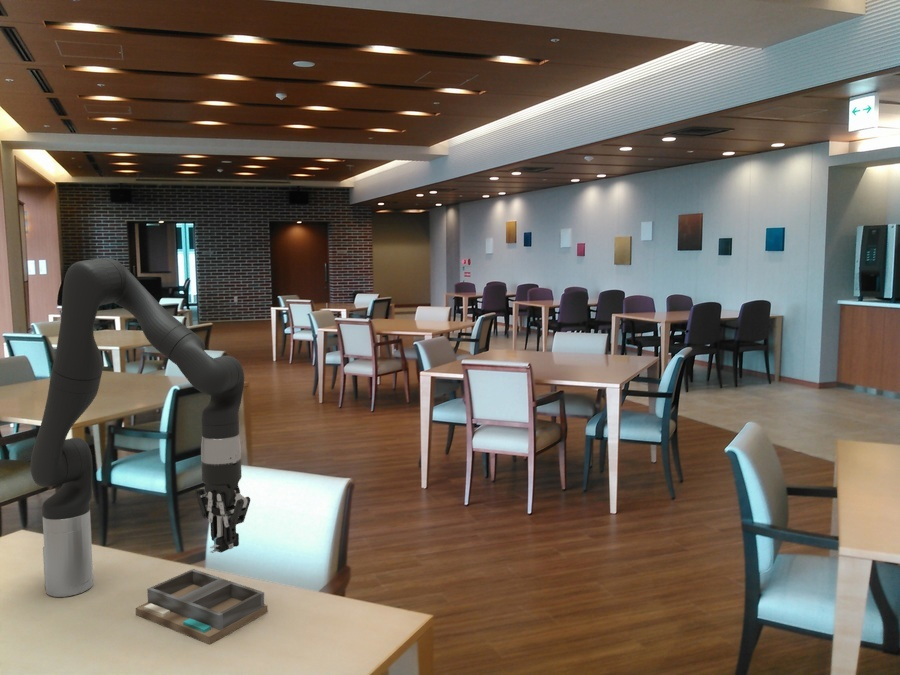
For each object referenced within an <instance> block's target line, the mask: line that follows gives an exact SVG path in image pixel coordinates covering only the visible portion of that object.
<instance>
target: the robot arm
mask: <svg viewBox="0 0 900 675" xmlns="http://www.w3.org/2000/svg"><path fill="white" fill-rule="evenodd" d="M61 295H62V298H61V311H60V315H61V316H60V324H59V325H60V326H59V331H58V336H57V337H58V338H57V343H56V350H55V356H54V359H53V360H54V361H53V363H52V368H51V374H50V378H49V385H48V392H47V396H46V403H45V407H44V411H43V416H42V419H41V423H40V425H39V429H38V432H37V436H36V439H35V440H34V441H35V442H34V444H33V449H32V451H31V458H30V474H31V478H32V480H33V481H34V483H35V484H37V486H39V487H43V488H49V487H55V486H59V485H61V486H60V488H59V489H58V490H57V491H56V492H55V493H54V494H52V495H51V496H49V497H48V498H47V499H45V500H44V501H43V503H42V505H41V514H42V530H43V548H42V556H43V559H42V560H43V573H44V574H43V575H44V576H43V577H44V589H45V591H46V594H47V595H48V596H50V597H55V598H61V597H63V598H65V597H70V596H75V595H79V594H82V593H84V592H86V591H88V590H90V589H91V588H92V587H93V586H94V574H93V572H94V571H93V570H94V569H93V565H94V564H93V548H92V545H93V544H92V522H91V500H92V499H93V498H92V497H93V455H92V452H91V448H90V446H89V444H88V442H86V440H85V439H83V438H81V437H71V438H67V436H68V434H69V432H70V431H71V429H72V427H73V426H74V425H75V423H76V422H77V421H78V420H79V418H81V417H82V415H83V414H84V413H85V412H86V411H87V409H88V408H89V407H90V406H91V404H92V403H93V401H94V400H95V398H96V397H97V395H98V392H99V388H100V384H101V379H102V374H103V368H104V364H103V362H104V361H103V357H102V354H101V352H100V348H99V346H98V344H97V343H96V339H95V335H94V329H95V328H94V327H95V322H96V317H97V313H98V312H99V308H100V306H104V305H109V304H113V303H114V304H116V305H117V306H119V307H121V308H123V309H124V310H126V311H127V312H129V314H131V315H132V316H133V317H134V318H135V319H136V320H137V322H138V324H139V326H140V328H141V330H142V332H143V335H144V336H145V338H146V340H147V341H148V342H149V344H150V345H151V346H152V347H153V348H154V349H155V350H157V351H158V352H159V353H160V354H161V355H163V356H164V357H165V358H167V359H168V360H169V361H170V362H171V363H173V364H175V366H176V367H177V368H178V369H179V371H180V372H181V373H182V375H183V376H184V377H185V379H186V380H187V381H188V382H189V383H190V384H191V386H192V387H193V388H194V389H196V390H197V391H199V392H200V393H202V394H204V395H206V396H207V395H208V396H210V401H209V403H207V405H206V406H205V407H203V410H202V412H201V445H200V455H201V456H200V459H201V460H200V462H201V482H202V483H203V484H204V486H203V487H200V488H198V489H196V490H194V491H195V492H194V493H195V496H196V499H197V503H198V506H199V510H200V513H201V516H202V518H203V519H207V521H208V523H209V524H210V536H211V541H213V542H214V538H216V537H217V516H216V515H214V514H213V513H212V509H211V507H213V506H214V507H216V506H217V502H219V507H220V513H221V516H223V519H224V525H225V527H224V544H226V545H230V544H232V543H234V542H235V540H236V533H237V525H240V524H242V523H244V522H245V520H246V516H247V512H248V510H249V506H250V503H251V498H250V496H244V495H242V494H241V490H240V487H239V482H240V481H241V479H242V448H241V447H242V446H241V438H240V417H239V412H240V411H239V410H240V407H241V405H242V404H241V403H242V398H243V393H244V387H245V386H244V385H245V373H244V372H245V371H244V368H243V366H242V364H241V362H240V361H239V360H238V359H237V358H235V357H234V356H232V355H222V356H218V357H212V356H210V355H209V354H208V353H207V352H206V351H205V350H206V344H205V342H204V340H203V339H202V338H201V337H200V336H199V335H198V334H196V333H195V332H194V331H192V330H191V329H190V328H189V327H188V326H186V325H185V324H183V323H182V322H181V321H180V320H178V319H177V318H176V317H175V316H173V315H172V314H171V313H170V312H169V311H168V310H167V309H166V308H164V306H162V304H161V303H160V302H158V300H157V299H156V298H155V297H154V296H153V295H152V294H151V293H150V292H149V291H148V290H147V289H146V287H145V286H144V285H143V284H141V282H140V281H139V280H138V279H137V278H136V277H135V276H134V275H133V273H131V271H130V270H129V269H128V268H127V267H126V266H125V265H123V263H121V262H120V261H118V260H116V259H113V258H111V257H110V258H108V257H105V258H93V259H86V260H80V261H77V262H74V263H73V264H71V266H69V267H68V268H67V270H66V273H65V276H64V279H63V286H62V294H61ZM206 505H207V506H206ZM232 506H235V509H233V510H229V511H227V510H226V508H230V507H232ZM232 513H233V514H232ZM230 514H232V516H231V519H229V515H230Z"/></svg>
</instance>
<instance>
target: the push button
mask: <svg viewBox="0 0 900 675" xmlns="http://www.w3.org/2000/svg"><path fill="white" fill-rule="evenodd" d="M211 509H212V513H213V514H214V515H216V516H217V537H216V538H214V541H213V545H212V546H210V547H209V548H210V549H212V550H211V551H209V553H211V554H214V553H216V552H218V553H223V552H225V551H228V550H232V549H234V547H238V546H239V545H240V536H239V533H238V532H236V540H235V542H234V543H232V544H230V545H226V544H224V527H225V525H224V519H223V516H221V513H220V507H219V502H217V506H216V507H214V506H213V507H211ZM233 509H235V506H232V507H230V508H226V510H227V511H229V510H233ZM232 514H233V513H232ZM232 514H230V515H229V519H231V516H232Z"/></svg>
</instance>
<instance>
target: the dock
mask: <svg viewBox="0 0 900 675" xmlns="http://www.w3.org/2000/svg"><path fill="white" fill-rule="evenodd" d="M267 613H268V604H265V592H264V591H261V590H259V589H255V588H252V587H249V586H246V585H244V584H243V585H242V584H240V583H237V582H234V581H232V580H228V579H224V578H221V577H219V576H215V575H213V574H210V573H208V572H204V571H200V570H198V569H195V568H192V569H190V570H187V571H185V572H183V573H180V574H178V575H176V576H173V577H171V578H169V579H166V580H165V581H162V582H160V583H157V584H155V585H152V586H150V587H149V588H147V602H145V603H143V604H141V605H139V606H136V607H135V615H136V616H139V617H141V618H143V619H146V620H148V621H151V622H153V623H155V624H158V625H161V626H163V627H166V628H168V629H171V630H173V631H175V632H178V633H180V634H183V635H185V636H189V637H191V638H193V639H196V640H197V641H201V642H203V643H205V644H208V645H211V644H214V643H215V642H217V641H218V640H221V639H222V638H224V637H225V635H226V636H227V635H229V634H231V633H233V632H234V631H236V630H238V629H240V628H242V627H243V626H245V625H247V624H249V623H251V622H253V621H254V620H256V619H258V618H259V617H261V616H264V615H265V614H267ZM232 631H233V632H232ZM230 632H231V633H230ZM223 636H224V637H223ZM216 640H217V641H216Z"/></svg>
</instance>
